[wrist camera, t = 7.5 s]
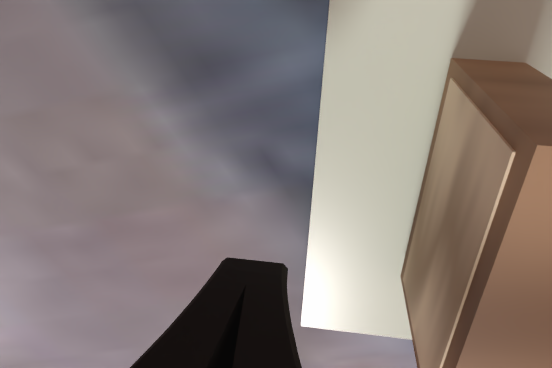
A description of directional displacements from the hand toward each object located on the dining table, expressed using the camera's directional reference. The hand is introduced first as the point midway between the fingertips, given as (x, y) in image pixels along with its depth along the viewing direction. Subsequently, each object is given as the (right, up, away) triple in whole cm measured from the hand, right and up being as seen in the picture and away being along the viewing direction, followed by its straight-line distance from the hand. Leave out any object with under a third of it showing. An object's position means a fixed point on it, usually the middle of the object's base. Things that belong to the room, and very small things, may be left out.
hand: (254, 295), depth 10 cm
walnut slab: (+6, +2, +4) cm, 8 cm away
